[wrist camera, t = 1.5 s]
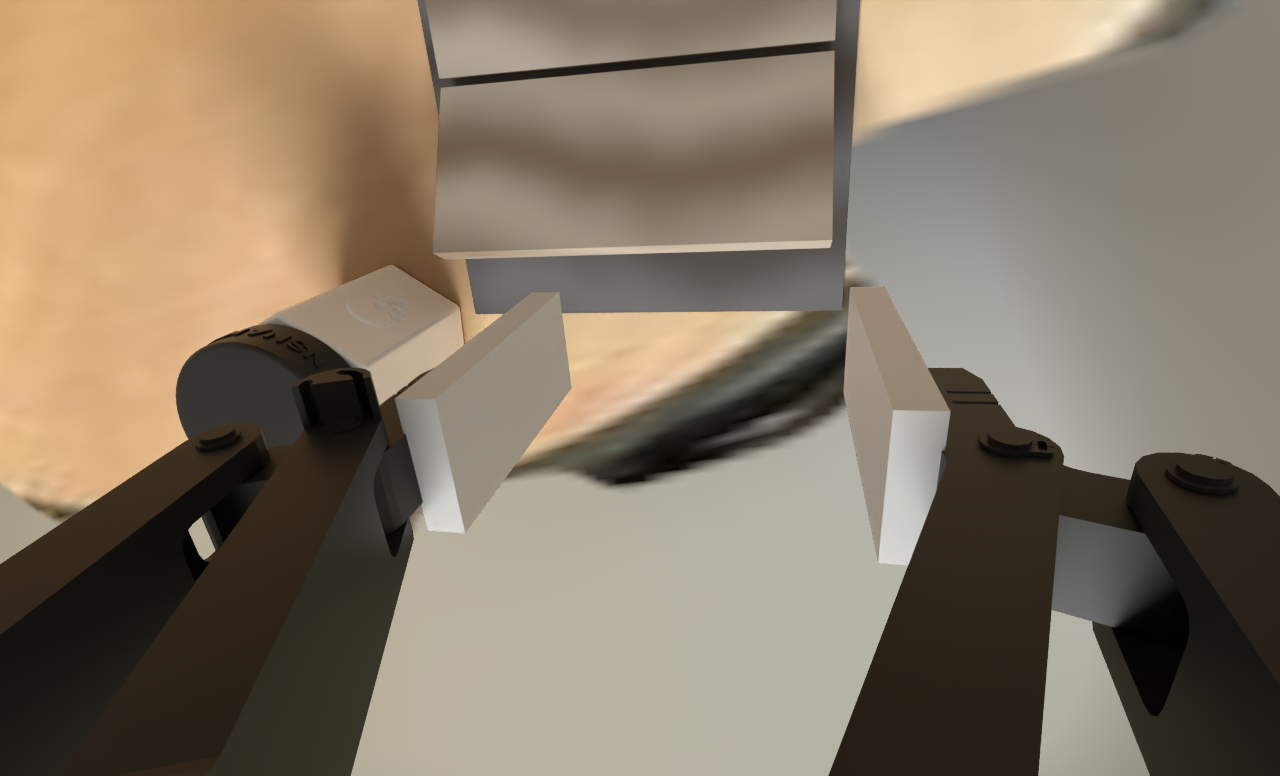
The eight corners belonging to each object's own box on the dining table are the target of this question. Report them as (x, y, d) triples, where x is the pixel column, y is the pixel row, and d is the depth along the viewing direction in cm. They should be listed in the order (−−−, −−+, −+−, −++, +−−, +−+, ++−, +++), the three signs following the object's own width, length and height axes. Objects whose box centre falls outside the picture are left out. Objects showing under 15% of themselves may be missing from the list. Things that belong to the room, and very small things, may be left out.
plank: (452, 100, 31) (440, 87, 30) (832, 66, 27) (834, 50, 26) (444, 259, 31) (432, 252, 30) (829, 248, 27) (832, 240, 26)
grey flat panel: (381, -205, 27) (362, -220, 26) (876, -308, 23) (882, -332, 21) (477, 312, 36) (466, 320, 35) (841, 309, 32) (844, 317, 31)
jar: (495, 323, 36) (376, 417, 26) (445, 424, 40) (322, 543, 29) (360, 238, 36) (180, 298, 25) (322, 349, 40) (151, 442, 29)
